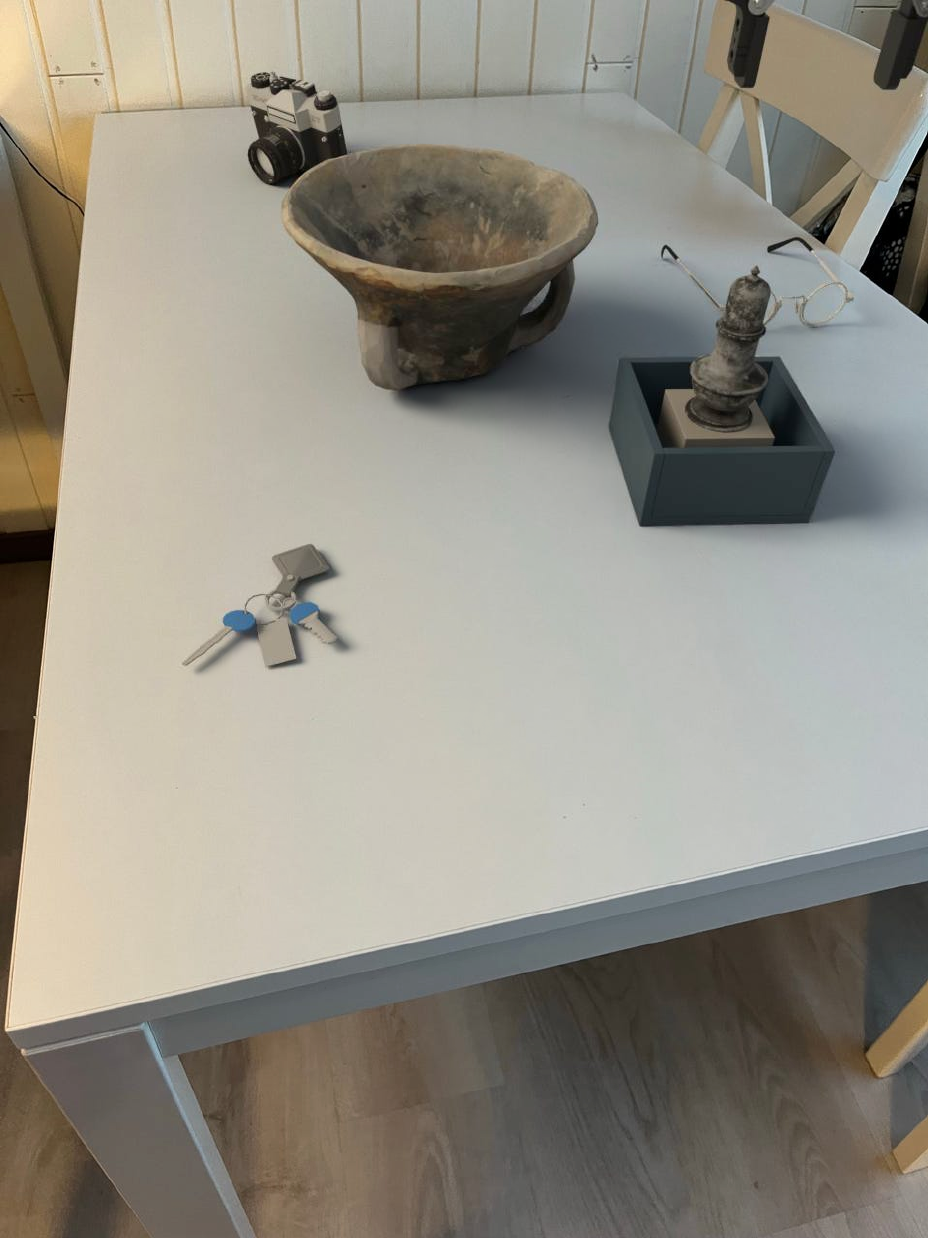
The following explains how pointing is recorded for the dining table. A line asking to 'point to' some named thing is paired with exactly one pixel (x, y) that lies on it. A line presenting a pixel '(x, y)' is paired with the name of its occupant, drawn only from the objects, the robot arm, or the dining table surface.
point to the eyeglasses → (776, 304)
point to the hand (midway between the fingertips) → (814, 85)
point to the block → (685, 433)
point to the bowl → (442, 253)
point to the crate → (716, 453)
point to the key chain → (279, 610)
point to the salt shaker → (732, 361)
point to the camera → (292, 126)
